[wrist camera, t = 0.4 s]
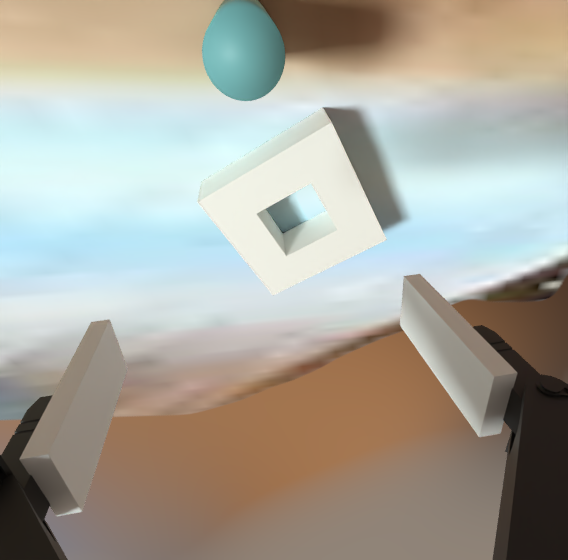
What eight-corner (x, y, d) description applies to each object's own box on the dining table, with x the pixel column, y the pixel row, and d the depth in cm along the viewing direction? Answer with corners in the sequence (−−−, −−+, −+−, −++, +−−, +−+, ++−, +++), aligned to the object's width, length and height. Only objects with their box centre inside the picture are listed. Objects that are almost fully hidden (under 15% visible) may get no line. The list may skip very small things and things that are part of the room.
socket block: (322, 107, 36) (331, 122, 32) (375, 218, 44) (386, 239, 40) (201, 181, 39) (197, 202, 36) (270, 271, 47) (273, 295, 44)
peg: (250, -20, 29) (257, -14, 19) (279, 38, 32) (299, 73, 21) (204, 15, 31) (184, 39, 20) (235, 68, 33) (233, 116, 22)
